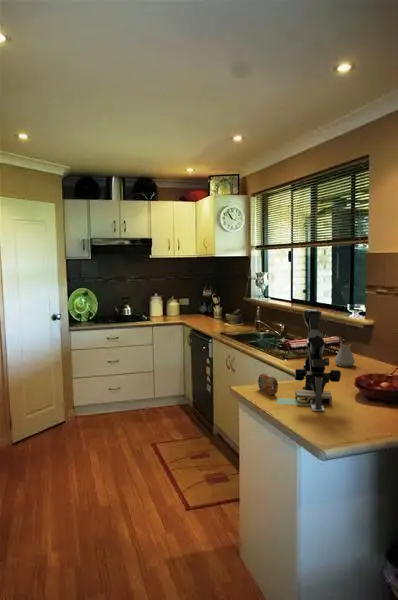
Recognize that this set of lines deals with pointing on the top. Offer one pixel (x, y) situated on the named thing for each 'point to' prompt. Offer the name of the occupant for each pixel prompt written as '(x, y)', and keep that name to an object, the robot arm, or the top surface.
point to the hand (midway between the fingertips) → (318, 393)
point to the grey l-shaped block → (317, 396)
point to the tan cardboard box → (313, 395)
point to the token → (304, 400)
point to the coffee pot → (344, 355)
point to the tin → (268, 384)
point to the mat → (290, 401)
